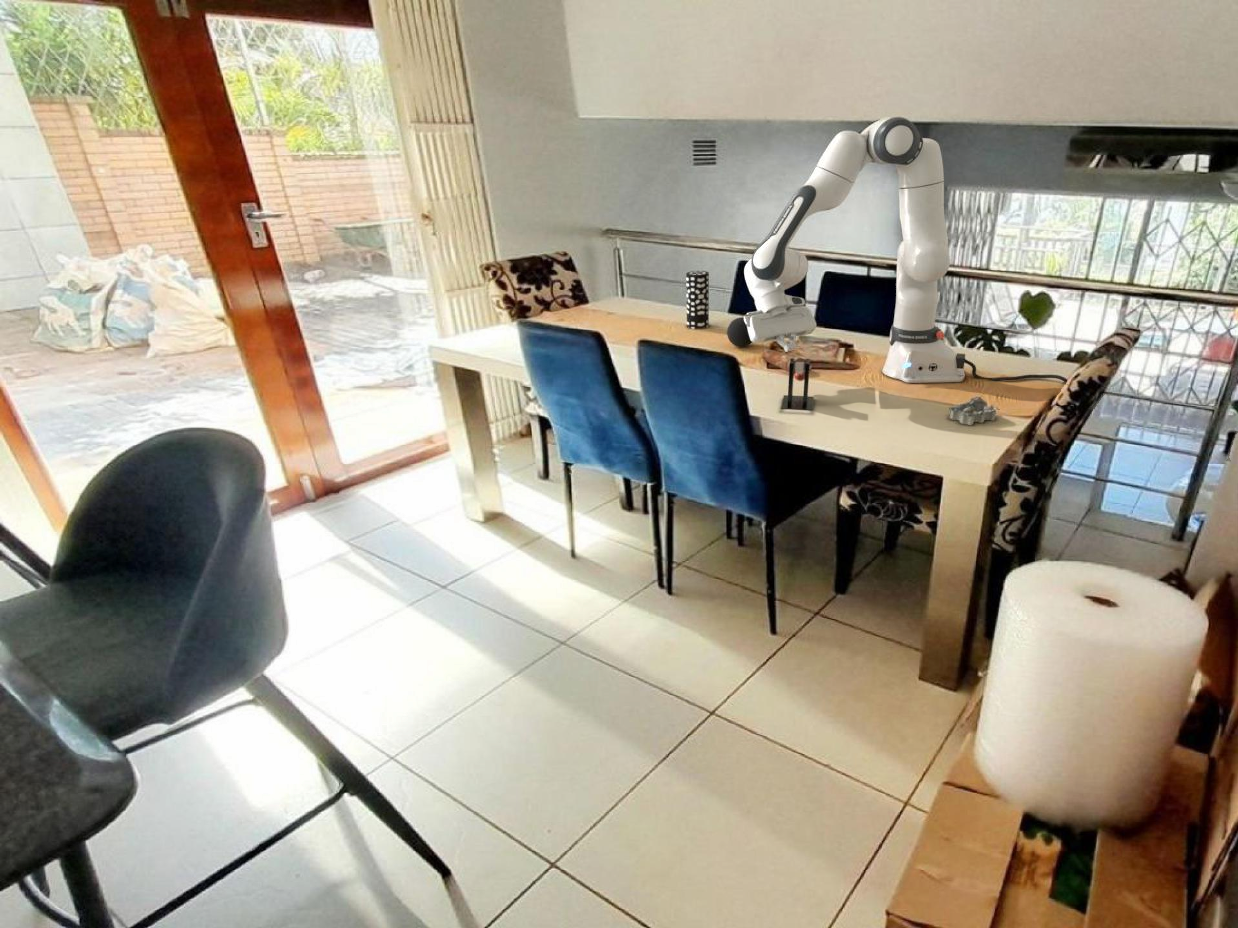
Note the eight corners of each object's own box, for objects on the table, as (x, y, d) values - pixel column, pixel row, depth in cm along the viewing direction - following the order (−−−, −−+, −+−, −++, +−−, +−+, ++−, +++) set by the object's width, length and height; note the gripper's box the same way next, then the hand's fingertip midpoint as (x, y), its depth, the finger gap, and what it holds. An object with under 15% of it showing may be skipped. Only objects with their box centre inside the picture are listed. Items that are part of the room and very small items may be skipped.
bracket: (783, 399, 195) (785, 354, 190) (813, 400, 193) (816, 355, 188) (780, 412, 187) (782, 366, 181) (811, 414, 185) (814, 367, 179)
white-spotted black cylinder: (712, 324, 270) (712, 271, 262) (702, 329, 264) (702, 276, 255) (692, 322, 274) (692, 270, 266) (683, 327, 268) (682, 274, 260)
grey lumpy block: (978, 410, 181) (981, 395, 179) (1000, 420, 175) (1004, 405, 173) (943, 416, 179) (946, 401, 177) (964, 426, 172) (967, 411, 170)
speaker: (751, 351, 236) (752, 322, 232) (723, 349, 241) (723, 320, 236) (759, 343, 244) (760, 315, 240) (732, 341, 248) (732, 313, 244)
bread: (790, 378, 211) (791, 360, 208) (758, 361, 227) (759, 344, 224) (808, 374, 212) (810, 357, 210) (775, 358, 229) (776, 341, 226)
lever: (794, 381, 197) (795, 370, 197) (805, 382, 196) (806, 371, 196) (792, 372, 184) (793, 360, 184) (805, 372, 183) (806, 360, 184)
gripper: (746, 307, 195) (763, 350, 191) (808, 297, 201) (826, 339, 197) (737, 319, 201) (754, 361, 197) (798, 310, 207) (816, 350, 203)
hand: (791, 350), depth 197 cm, fingers closed
